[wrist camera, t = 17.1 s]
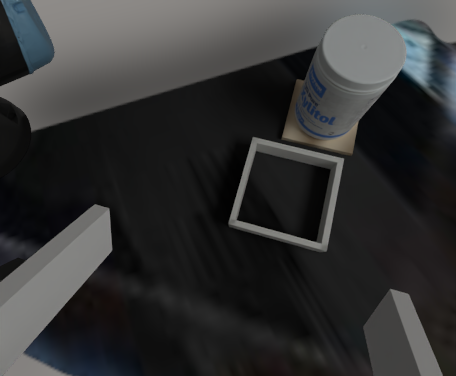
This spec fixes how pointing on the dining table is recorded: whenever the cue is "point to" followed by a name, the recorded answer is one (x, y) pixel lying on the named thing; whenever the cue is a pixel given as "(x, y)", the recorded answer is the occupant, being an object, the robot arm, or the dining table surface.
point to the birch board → (299, 136)
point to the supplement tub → (348, 74)
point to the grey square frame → (300, 156)
